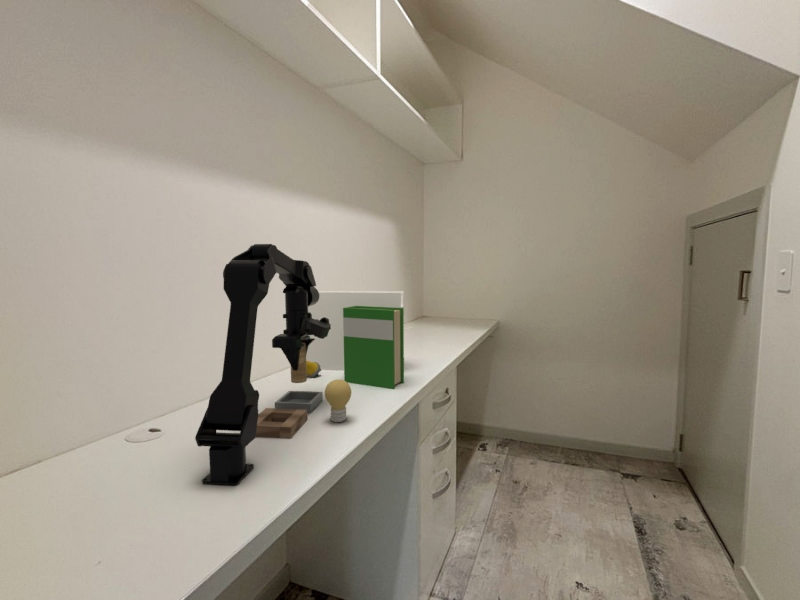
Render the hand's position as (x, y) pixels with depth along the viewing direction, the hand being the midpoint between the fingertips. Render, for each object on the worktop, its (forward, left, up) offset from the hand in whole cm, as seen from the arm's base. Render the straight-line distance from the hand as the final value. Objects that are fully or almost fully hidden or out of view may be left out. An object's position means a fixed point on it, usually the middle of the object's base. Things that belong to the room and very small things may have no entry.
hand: (298, 368), depth 105 cm
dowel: (0, 0, -4) cm, 4 cm away
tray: (0, 0, -10) cm, 10 cm away
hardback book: (+23, -16, -11) cm, 30 cm away
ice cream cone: (+27, +6, -11) cm, 30 cm away
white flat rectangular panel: (+40, -6, -11) cm, 42 cm away
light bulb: (-8, -13, -11) cm, 19 cm away
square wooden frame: (-14, 0, -10) cm, 17 cm away
